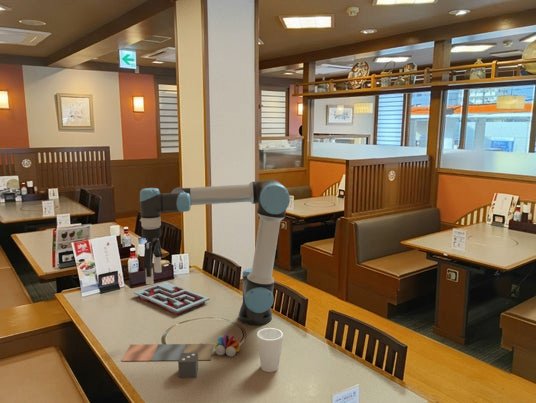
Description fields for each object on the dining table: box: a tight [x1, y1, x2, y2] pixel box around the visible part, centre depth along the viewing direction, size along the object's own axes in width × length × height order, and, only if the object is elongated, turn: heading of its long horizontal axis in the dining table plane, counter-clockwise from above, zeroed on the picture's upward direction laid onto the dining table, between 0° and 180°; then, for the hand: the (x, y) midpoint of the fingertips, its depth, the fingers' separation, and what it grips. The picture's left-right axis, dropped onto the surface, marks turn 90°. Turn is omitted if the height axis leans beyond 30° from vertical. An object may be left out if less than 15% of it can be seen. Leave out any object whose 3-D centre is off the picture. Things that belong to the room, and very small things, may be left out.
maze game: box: [133, 281, 210, 316], centre depth 216 cm, size 35×20×3 cm, turn 50°
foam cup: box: [256, 327, 284, 373], centre depth 156 cm, size 10×9×13 cm
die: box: [177, 353, 199, 379], centre depth 153 cm, size 6×6×6 cm
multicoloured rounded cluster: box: [214, 333, 241, 358], centre depth 167 cm, size 8×10×7 cm
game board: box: [121, 343, 215, 362], centre depth 167 cm, size 33×12×1 cm, turn 92°
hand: (154, 278), depth 175 cm, fingers open, 13 cm apart
